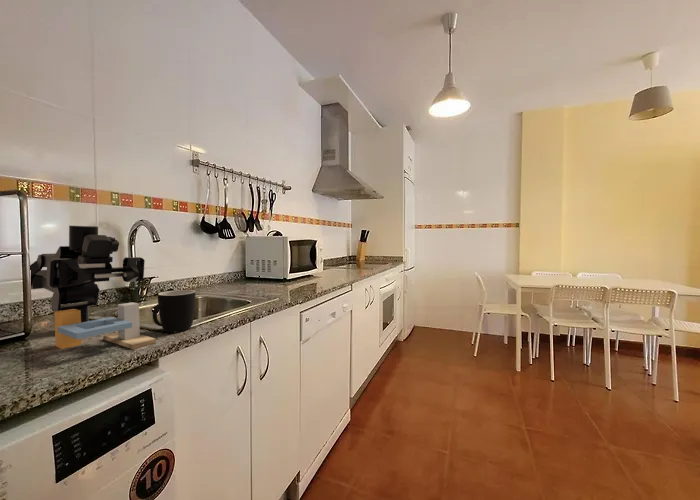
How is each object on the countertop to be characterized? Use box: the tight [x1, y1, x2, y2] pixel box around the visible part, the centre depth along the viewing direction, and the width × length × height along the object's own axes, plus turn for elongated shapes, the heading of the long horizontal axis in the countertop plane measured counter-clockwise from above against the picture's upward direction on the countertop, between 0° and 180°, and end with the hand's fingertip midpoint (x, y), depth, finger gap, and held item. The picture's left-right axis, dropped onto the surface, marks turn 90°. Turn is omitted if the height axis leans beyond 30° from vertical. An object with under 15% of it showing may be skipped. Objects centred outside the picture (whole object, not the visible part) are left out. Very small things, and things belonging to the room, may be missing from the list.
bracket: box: [58, 302, 141, 340], centre depth 71 cm, size 10×13×8 cm
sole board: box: [103, 331, 157, 350], centre depth 76 cm, size 14×5×1 cm, turn 59°
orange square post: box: [54, 309, 83, 350], centre depth 73 cm, size 4×4×8 cm
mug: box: [152, 289, 196, 333], centre depth 84 cm, size 12×9×10 cm
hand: (115, 276), depth 72 cm, fingers open, 9 cm apart
